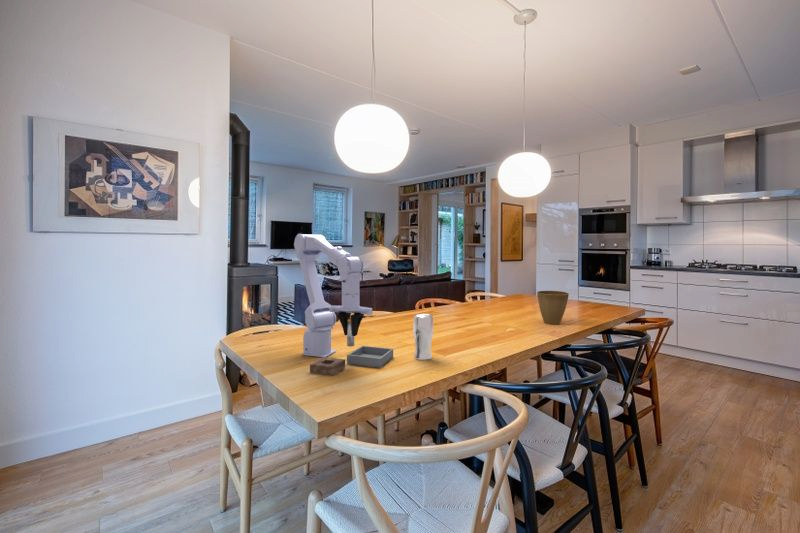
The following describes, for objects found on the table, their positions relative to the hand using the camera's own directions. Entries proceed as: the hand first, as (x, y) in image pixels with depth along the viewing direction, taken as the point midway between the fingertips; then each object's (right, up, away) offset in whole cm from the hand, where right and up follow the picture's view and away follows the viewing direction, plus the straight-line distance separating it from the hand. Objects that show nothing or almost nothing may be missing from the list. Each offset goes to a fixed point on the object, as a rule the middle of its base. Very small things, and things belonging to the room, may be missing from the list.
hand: (350, 335), depth 118 cm
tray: (+6, -10, +5) cm, 13 cm away
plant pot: (+94, -7, +67) cm, 116 cm away
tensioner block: (-7, -10, -4) cm, 13 cm away
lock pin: (0, -3, 0) cm, 3 cm away
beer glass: (+24, -10, +8) cm, 27 cm away
